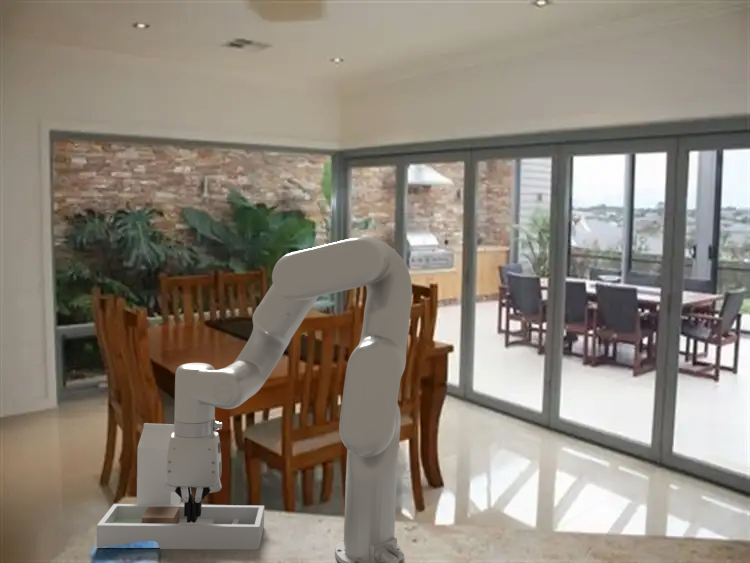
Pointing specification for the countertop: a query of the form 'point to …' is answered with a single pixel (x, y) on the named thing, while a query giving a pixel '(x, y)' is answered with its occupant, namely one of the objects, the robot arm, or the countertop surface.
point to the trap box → (185, 527)
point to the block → (161, 515)
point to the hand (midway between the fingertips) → (192, 519)
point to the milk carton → (154, 465)
